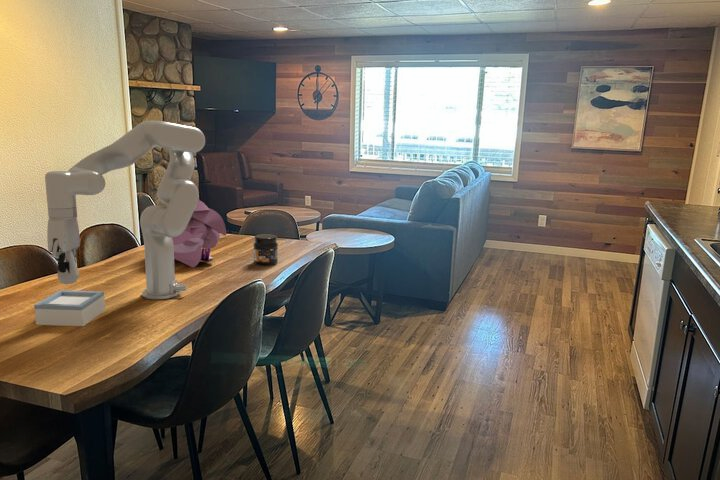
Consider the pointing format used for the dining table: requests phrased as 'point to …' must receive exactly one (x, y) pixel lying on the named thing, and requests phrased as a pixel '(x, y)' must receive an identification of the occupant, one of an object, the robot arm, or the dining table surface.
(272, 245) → the supplement container
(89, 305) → the stand
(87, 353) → the dining table surface
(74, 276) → the salt shaker
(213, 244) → the flower arrangement
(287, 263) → the dining table surface
